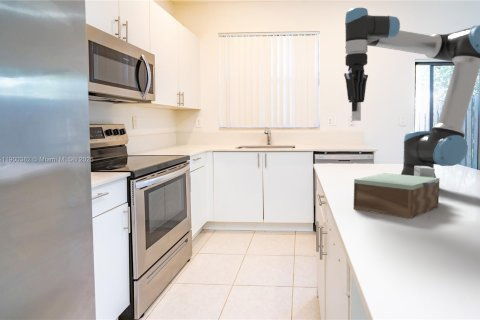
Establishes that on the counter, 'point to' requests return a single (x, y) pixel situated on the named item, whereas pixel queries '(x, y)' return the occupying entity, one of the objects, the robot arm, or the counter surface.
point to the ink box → (424, 171)
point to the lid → (398, 181)
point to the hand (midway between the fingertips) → (356, 120)
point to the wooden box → (396, 200)
